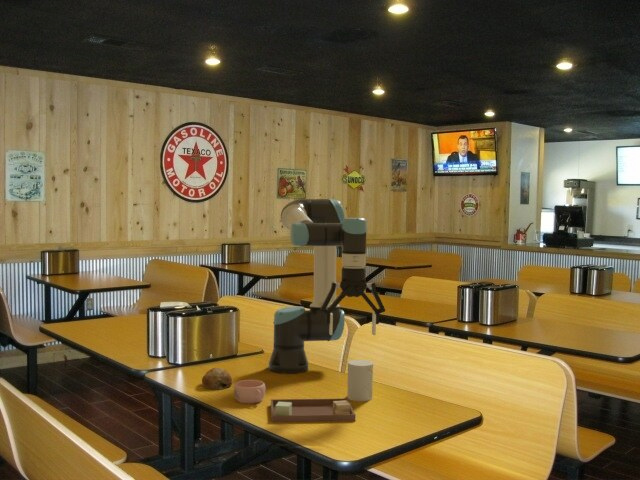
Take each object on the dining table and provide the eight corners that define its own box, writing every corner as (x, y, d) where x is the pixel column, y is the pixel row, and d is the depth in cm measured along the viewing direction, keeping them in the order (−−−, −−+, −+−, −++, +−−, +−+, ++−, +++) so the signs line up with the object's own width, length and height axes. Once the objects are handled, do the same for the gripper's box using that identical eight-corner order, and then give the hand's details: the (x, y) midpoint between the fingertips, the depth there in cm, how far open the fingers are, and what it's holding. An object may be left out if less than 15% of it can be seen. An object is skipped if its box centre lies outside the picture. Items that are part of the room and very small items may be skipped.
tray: (270, 407, 206) (270, 399, 206) (347, 406, 208) (347, 398, 208) (272, 424, 190) (272, 416, 190) (355, 423, 192) (355, 414, 192)
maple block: (332, 414, 198) (333, 401, 198) (345, 413, 199) (345, 400, 199) (336, 418, 194) (337, 405, 194) (349, 417, 195) (350, 404, 195)
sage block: (278, 414, 197) (278, 401, 196) (291, 415, 196) (292, 402, 196) (275, 419, 193) (275, 405, 192) (288, 420, 192) (289, 406, 192)
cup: (370, 404, 211) (371, 366, 210) (345, 402, 213) (346, 364, 212) (373, 396, 219) (374, 360, 218) (349, 394, 221) (350, 359, 220)
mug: (228, 400, 212) (228, 381, 212) (255, 395, 218) (255, 377, 218) (246, 410, 202) (246, 391, 202) (274, 405, 208) (274, 386, 208)
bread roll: (208, 400, 223) (214, 381, 220) (194, 382, 230) (199, 363, 227) (233, 395, 230) (239, 377, 227) (218, 377, 237) (224, 359, 234)
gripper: (314, 267, 204) (313, 336, 205) (395, 268, 206) (393, 336, 207) (313, 265, 212) (312, 331, 213) (390, 266, 213) (389, 332, 215)
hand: (352, 334), depth 210 cm, fingers open, 13 cm apart
